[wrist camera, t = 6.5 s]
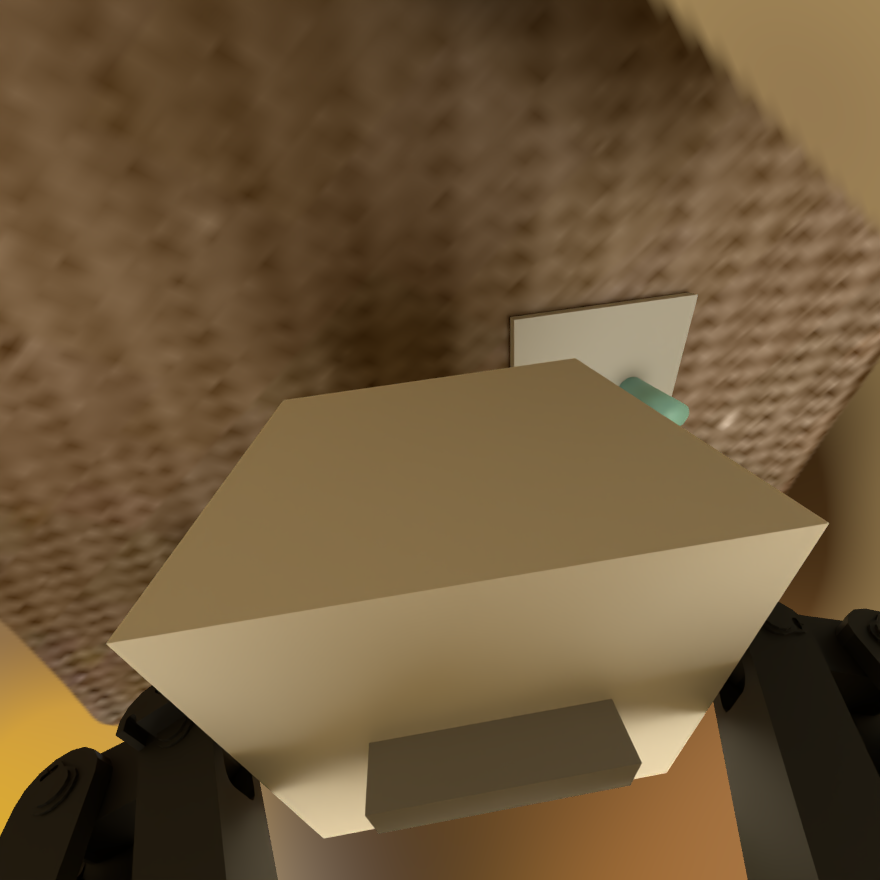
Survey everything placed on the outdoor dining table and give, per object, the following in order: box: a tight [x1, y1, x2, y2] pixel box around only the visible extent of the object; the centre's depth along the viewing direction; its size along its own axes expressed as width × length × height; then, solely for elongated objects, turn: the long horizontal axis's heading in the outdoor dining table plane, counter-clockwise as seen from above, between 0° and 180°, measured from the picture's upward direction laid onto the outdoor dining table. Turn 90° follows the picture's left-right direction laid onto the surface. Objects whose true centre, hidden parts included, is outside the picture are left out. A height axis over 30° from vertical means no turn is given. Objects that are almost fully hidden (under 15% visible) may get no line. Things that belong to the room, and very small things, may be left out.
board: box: [510, 293, 698, 426], centre depth 25 cm, size 13×13×6 cm
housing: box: [106, 358, 829, 838], centre depth 10 cm, size 10×10×9 cm
